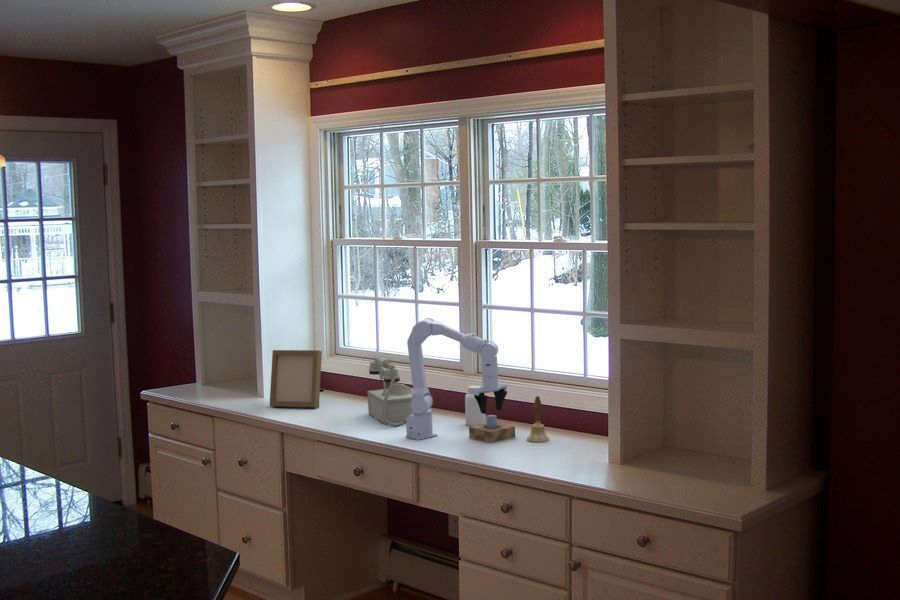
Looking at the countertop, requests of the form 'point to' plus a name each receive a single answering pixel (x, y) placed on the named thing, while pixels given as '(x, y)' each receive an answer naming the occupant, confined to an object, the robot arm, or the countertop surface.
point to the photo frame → (295, 378)
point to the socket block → (491, 432)
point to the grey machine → (389, 395)
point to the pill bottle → (473, 409)
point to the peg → (491, 421)
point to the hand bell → (537, 425)
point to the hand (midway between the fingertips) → (491, 411)
